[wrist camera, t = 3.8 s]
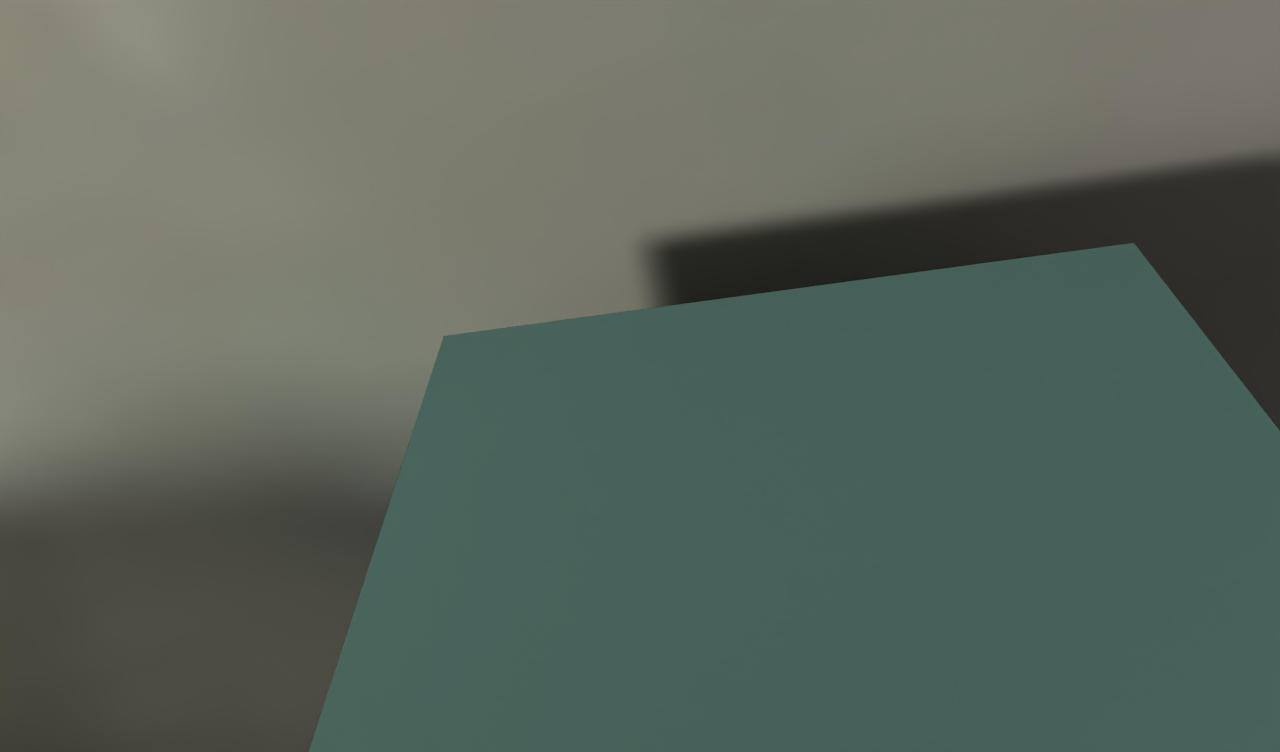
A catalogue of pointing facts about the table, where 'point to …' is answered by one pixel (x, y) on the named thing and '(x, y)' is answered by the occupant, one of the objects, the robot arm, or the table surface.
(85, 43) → the table surface
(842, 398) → the teal cube
